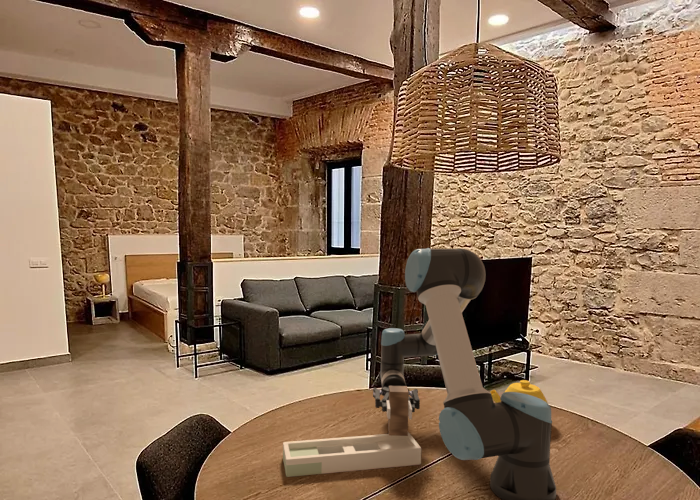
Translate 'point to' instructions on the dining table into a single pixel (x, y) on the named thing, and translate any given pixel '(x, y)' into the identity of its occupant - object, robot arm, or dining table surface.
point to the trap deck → (349, 454)
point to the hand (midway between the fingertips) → (399, 414)
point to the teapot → (521, 390)
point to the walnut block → (398, 411)
